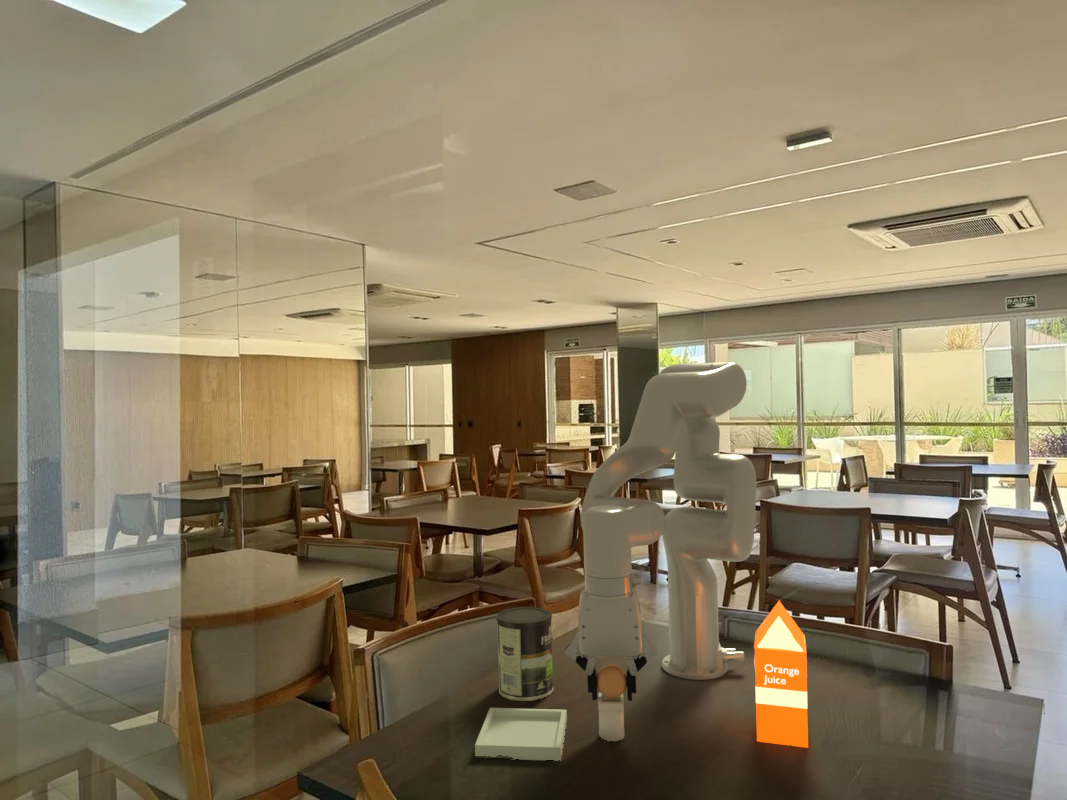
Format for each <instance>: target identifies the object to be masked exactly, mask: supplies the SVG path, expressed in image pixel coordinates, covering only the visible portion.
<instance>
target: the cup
mask: <svg viewBox="0 0 1067 800" xmlns="http://www.w3.org/2000/svg"><path fill="white" fill-rule="evenodd" d="M624 700H625V698H624V693H623V694H622V695H621V696H619V697H616V698H609V697H606V696H604V695H603V694H602V693H601V692H598V694H597V710H598V736H599V738H600V737H601V738H602V739H601V738H600V739H601V740H603V739H604V740H603V741H605V740H607V741H606V742H610V741H613V742H614V741H615V742H619V740H620V741H622V740H624V738H625V705H624V704H625V703H624ZM613 742H612V743H613Z"/></svg>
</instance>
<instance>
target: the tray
mask: <svg viewBox="0 0 1067 800" xmlns="http://www.w3.org/2000/svg"><path fill="white" fill-rule="evenodd" d="M567 711H568V710H567V709H559V708H558V709H553V708H552V709H551V708H517V707H515V708H514V707H513V708H512V707H489V709H488V711H487V714H486V717H485V718H484V721H483V724H482V727H481V729H480V731H479V734H478V736H477V738H476V741H475V744H474V757H475V756H487V757H488V756H491V757H496V756H498V755H502V756H509V757H512V758H513V759H512V760H516V759H519V760H520V761H521V760H523V761H526V760H527V761H546V760H554V761H553V762H561V761H562V757H563V750H564V744H563V743H564V742H565V737H564V736H566V731H565V729H566V730H567V724H568V712H567ZM566 723H567V724H566ZM562 749H563V750H562ZM561 756H562V757H561ZM559 760H560V761H559Z"/></svg>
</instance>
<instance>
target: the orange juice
mask: <svg viewBox="0 0 1067 800" xmlns="http://www.w3.org/2000/svg"><path fill="white" fill-rule="evenodd" d="M805 635H806V634H804V633H803V631H802V630H801V629H800V627H799V626H798V624H797V622H796V621H795V620H794V619H793V617H792V616H791V615H790V613H789V612H788V611H787V609H786V608H785V607H784V605H783V604H782V602H781V600H780V599H779V600H778V601H777V603H776V604H775V605H774V607H772V610H771V611H770V612H769V613H768V614H767V616H766V617H765V618H764V620H763V621H762V623H761V624H760V625H759V626H758V628H757V629H756V630H755V635H754V644H753V649H754V660H753V663H754V674H755V685H754V686H755V687H754V689H755V710H756V711H755V713H756V714H755V715H756V717H755V718H756V721H755V722H756V723H755V724H756V742H758V743H759V742H760V743H765V744H766V743H767V744H775V745H783V746H789V747H790V745H791V746H792V747H798V748H799V747H800V748H804V749H805V748H806V749H808V748H809V727H808V726H809V724H808V720H809V719H808V683H807V682H808V680H807V679H808V673H807V672H808V670H807V661H808V660H807V642H806V636H805Z"/></svg>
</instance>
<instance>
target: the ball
mask: <svg viewBox="0 0 1067 800" xmlns="http://www.w3.org/2000/svg"><path fill="white" fill-rule="evenodd" d="M596 682H597V691H599V693H602V694H603V695H604V696H606V697H609V698H616V697H619V696H621V695H622V694H623V695H624V693H625V692H626V691H627V673H626V672H625V670H623V668H621V667H620V666H619V665H616V664H607V665H604V666H603V667H601V668H600V669H599V670H598V671H597V677H596Z"/></svg>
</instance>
